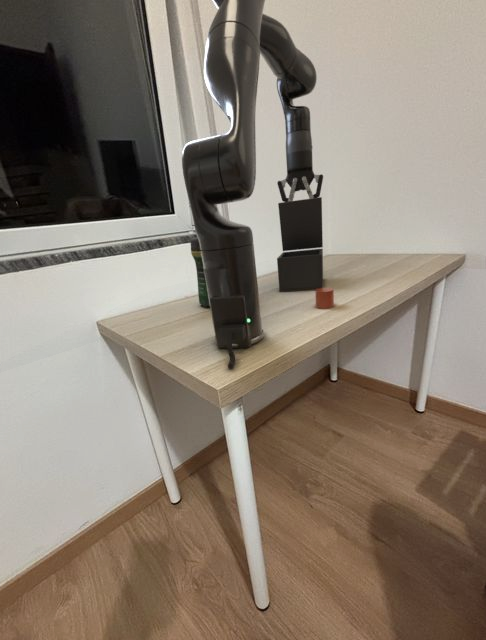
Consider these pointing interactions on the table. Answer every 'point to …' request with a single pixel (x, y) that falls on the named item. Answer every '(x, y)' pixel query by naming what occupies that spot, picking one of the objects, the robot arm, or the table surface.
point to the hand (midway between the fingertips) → (301, 214)
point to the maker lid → (301, 224)
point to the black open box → (300, 270)
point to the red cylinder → (324, 298)
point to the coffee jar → (200, 272)
